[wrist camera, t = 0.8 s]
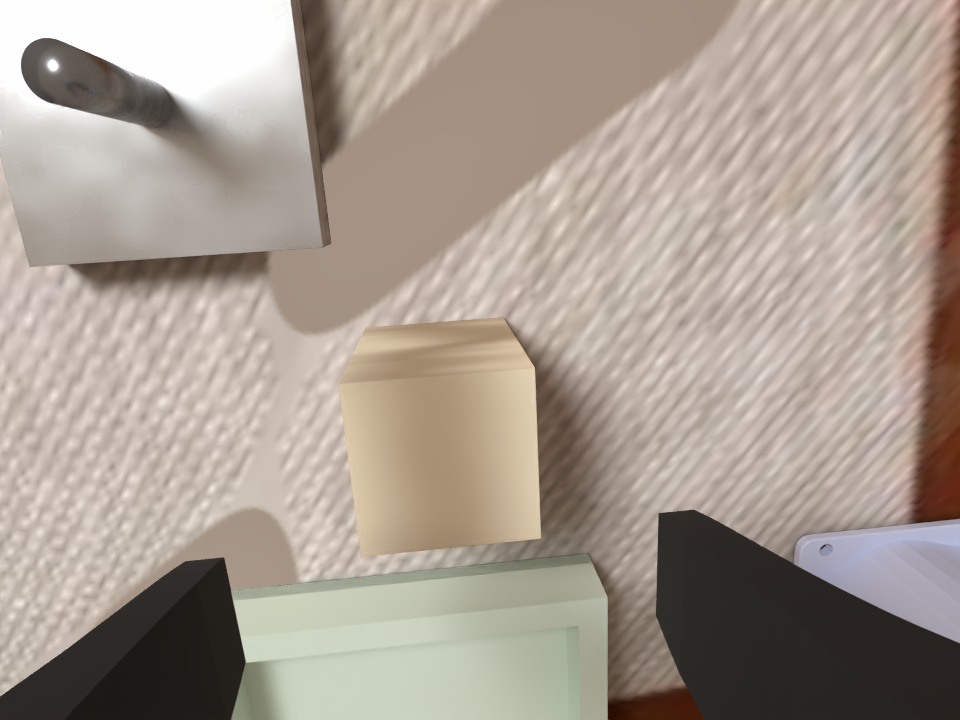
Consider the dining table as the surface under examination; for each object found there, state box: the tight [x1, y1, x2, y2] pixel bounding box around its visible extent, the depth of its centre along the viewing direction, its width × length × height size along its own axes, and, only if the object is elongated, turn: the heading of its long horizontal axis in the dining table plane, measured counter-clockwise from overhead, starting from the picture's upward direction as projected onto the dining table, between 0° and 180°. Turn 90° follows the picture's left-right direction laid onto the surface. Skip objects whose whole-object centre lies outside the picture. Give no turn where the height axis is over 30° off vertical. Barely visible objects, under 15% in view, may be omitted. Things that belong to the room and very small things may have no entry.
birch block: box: [338, 317, 541, 557], centre depth 17 cm, size 4×4×6 cm
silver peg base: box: [0, 0, 331, 267], centre depth 14 cm, size 8×8×6 cm
